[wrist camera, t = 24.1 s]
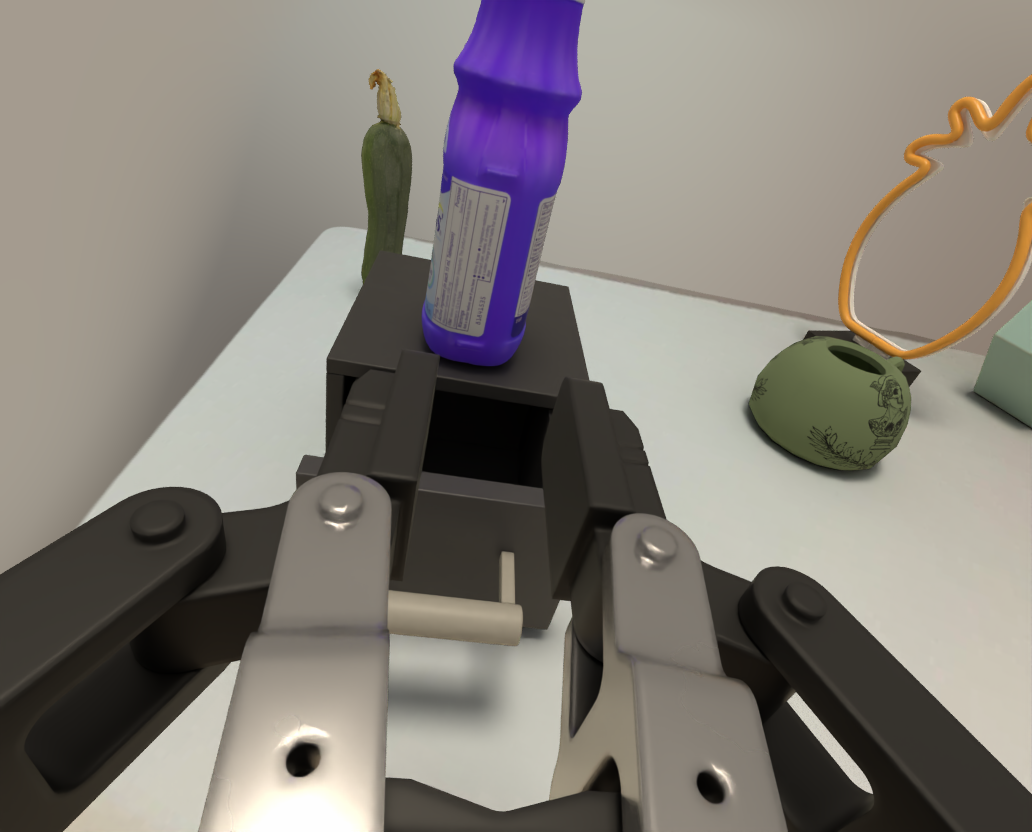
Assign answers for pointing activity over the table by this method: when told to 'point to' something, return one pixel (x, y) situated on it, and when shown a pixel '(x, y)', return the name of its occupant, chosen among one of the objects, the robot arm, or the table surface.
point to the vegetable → (385, 176)
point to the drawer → (474, 526)
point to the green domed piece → (833, 402)
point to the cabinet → (398, 325)
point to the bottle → (500, 175)
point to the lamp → (1028, 241)
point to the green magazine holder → (1010, 368)
